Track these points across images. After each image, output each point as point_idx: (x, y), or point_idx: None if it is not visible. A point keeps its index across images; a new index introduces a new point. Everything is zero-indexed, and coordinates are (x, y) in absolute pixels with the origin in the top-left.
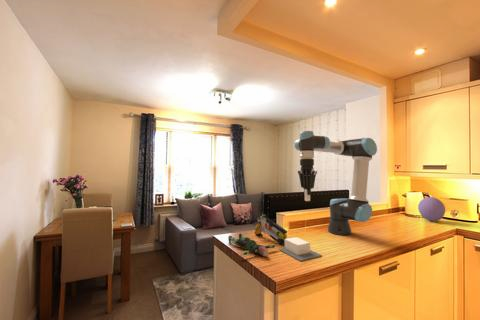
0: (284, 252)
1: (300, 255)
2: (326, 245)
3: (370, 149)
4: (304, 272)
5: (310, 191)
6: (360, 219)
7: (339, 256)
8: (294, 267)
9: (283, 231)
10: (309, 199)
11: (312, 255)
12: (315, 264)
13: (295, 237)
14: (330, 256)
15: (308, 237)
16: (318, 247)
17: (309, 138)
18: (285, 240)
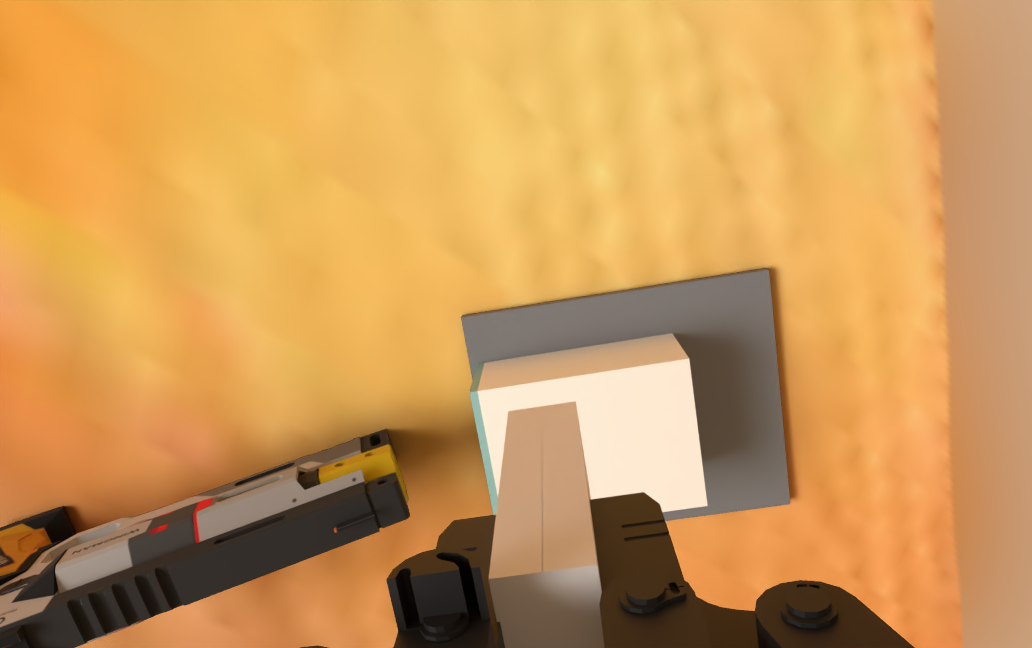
0: None
1: (702, 450)
2: (531, 20)
3: None
4: (952, 570)
5: (674, 560)
6: None
7: (828, 108)
8: (855, 590)
9: (392, 521)
10: (581, 438)
11: (740, 354)
12: (877, 421)
13: (482, 402)
14: (795, 192)
15: (225, 45)
16: (556, 148)
17: None
18: None
